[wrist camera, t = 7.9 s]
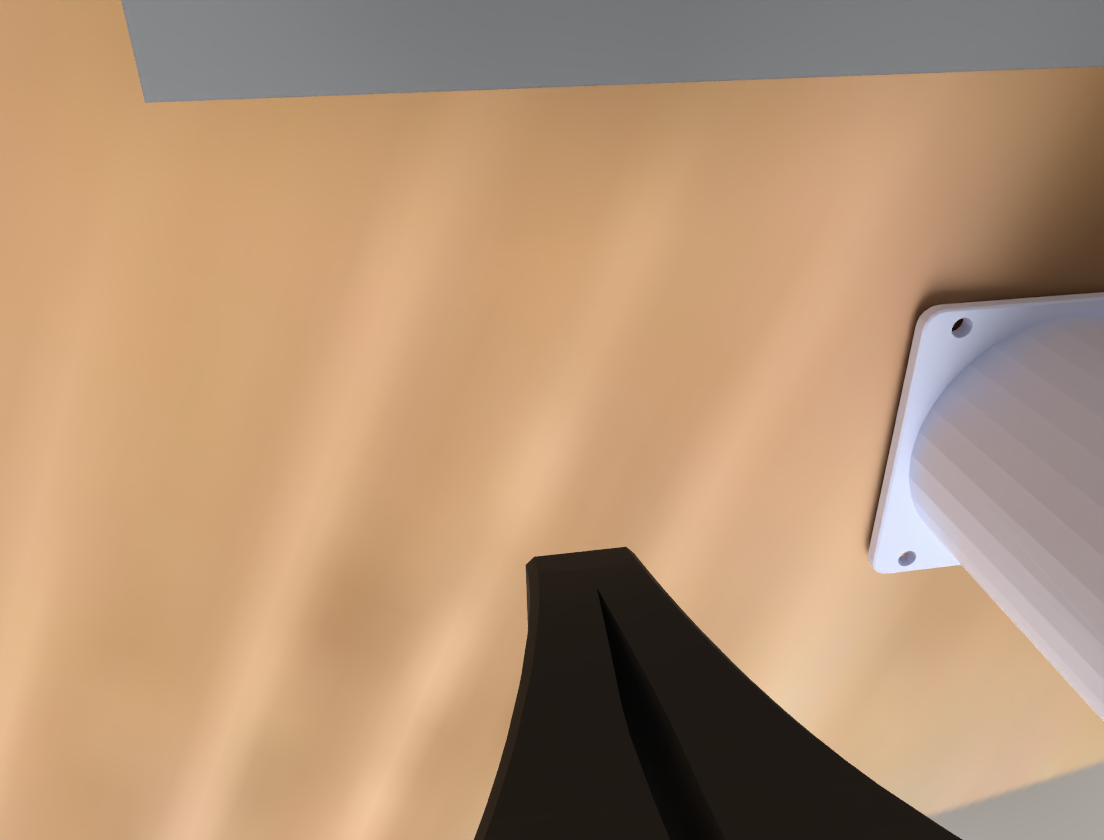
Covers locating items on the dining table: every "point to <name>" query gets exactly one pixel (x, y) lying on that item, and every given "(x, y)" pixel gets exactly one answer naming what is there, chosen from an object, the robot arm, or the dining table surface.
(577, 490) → the dining table surface
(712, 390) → the dining table surface
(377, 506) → the dining table surface
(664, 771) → the robot arm
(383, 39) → the console
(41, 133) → the dining table surface
